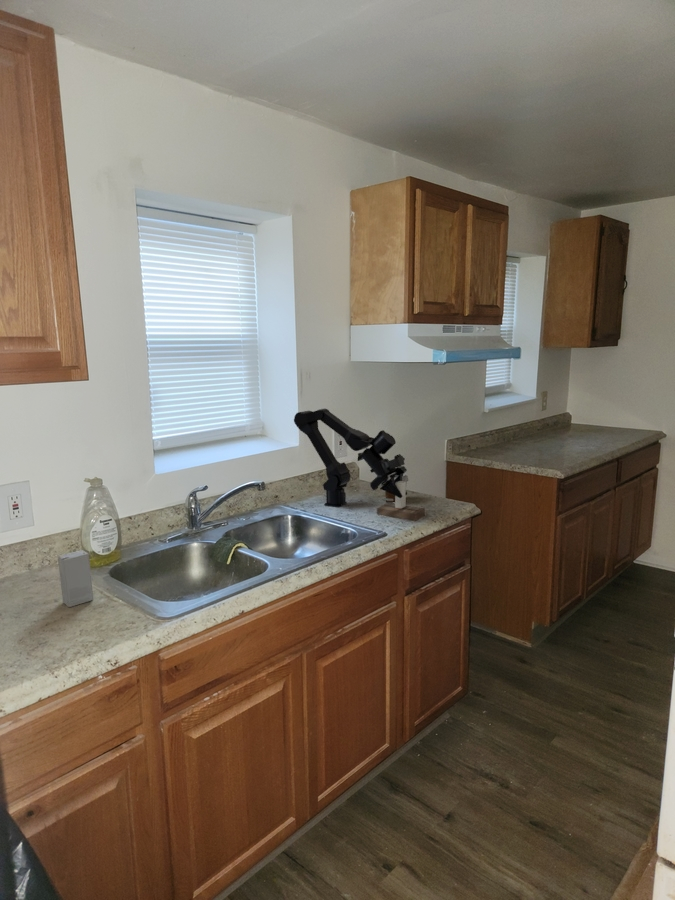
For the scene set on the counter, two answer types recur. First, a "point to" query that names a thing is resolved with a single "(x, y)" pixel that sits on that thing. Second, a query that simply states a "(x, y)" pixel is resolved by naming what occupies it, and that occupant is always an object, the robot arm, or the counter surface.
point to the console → (401, 512)
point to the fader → (402, 488)
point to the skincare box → (75, 578)
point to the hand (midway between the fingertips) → (403, 496)
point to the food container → (390, 496)
